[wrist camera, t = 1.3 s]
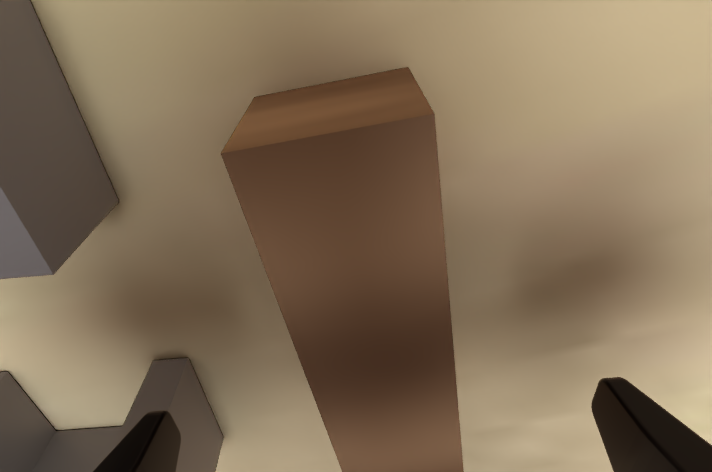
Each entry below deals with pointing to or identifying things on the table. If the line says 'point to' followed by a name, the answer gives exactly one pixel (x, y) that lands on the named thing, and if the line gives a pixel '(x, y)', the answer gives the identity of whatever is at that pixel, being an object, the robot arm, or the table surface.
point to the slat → (358, 261)
